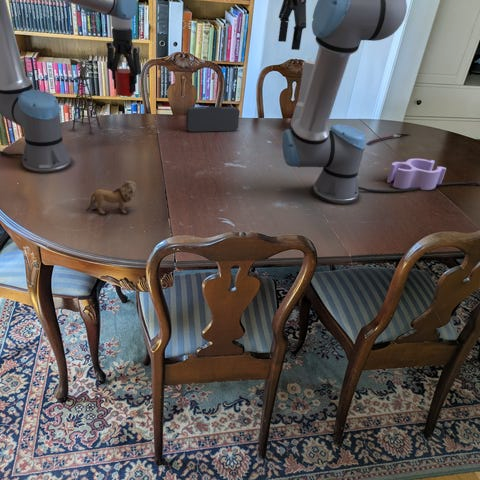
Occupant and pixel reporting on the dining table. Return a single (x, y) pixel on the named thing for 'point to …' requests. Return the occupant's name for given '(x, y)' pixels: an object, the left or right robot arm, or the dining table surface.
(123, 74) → the canister
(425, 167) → the clip
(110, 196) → the lion figurine
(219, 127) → the dark grey rectangular block
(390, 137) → the sword
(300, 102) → the electronic device
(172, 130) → the dining table surface
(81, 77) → the miniature windmill
